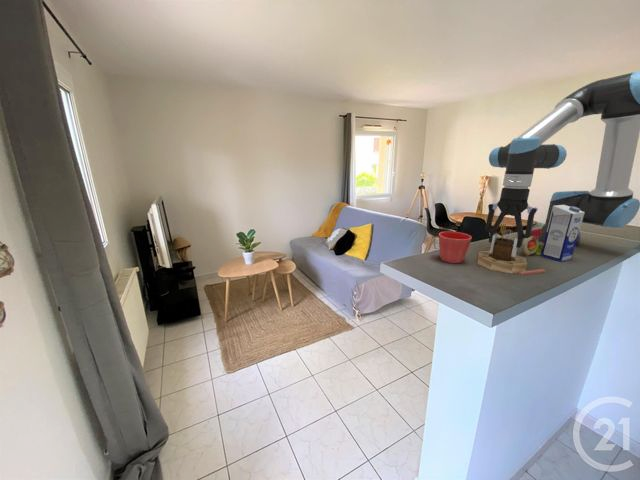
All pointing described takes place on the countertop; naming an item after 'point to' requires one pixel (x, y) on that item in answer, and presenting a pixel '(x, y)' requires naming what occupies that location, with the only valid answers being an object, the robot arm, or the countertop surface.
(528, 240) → the bird rattle
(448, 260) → the flower pot
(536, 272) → the pink stick
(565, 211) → the milk carton
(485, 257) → the octagonal ring
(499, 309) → the countertop surface
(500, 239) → the utensil holder
